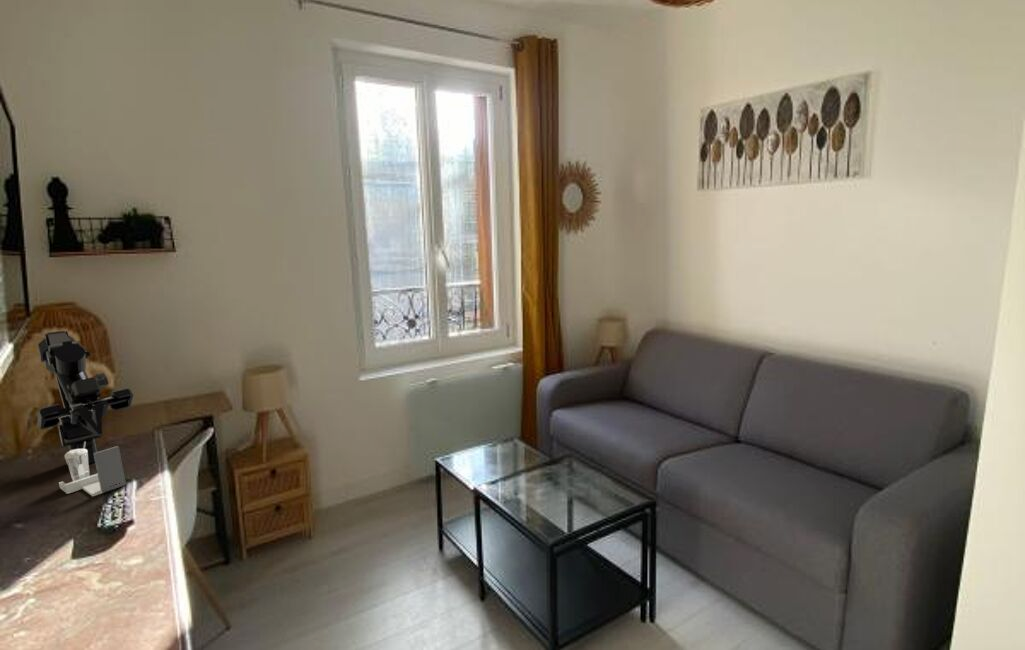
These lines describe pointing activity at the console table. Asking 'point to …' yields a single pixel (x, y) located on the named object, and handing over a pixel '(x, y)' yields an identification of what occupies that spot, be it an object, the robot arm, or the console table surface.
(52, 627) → the console table surface
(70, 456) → the milkshake
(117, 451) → the white bracket
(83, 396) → the robot arm
